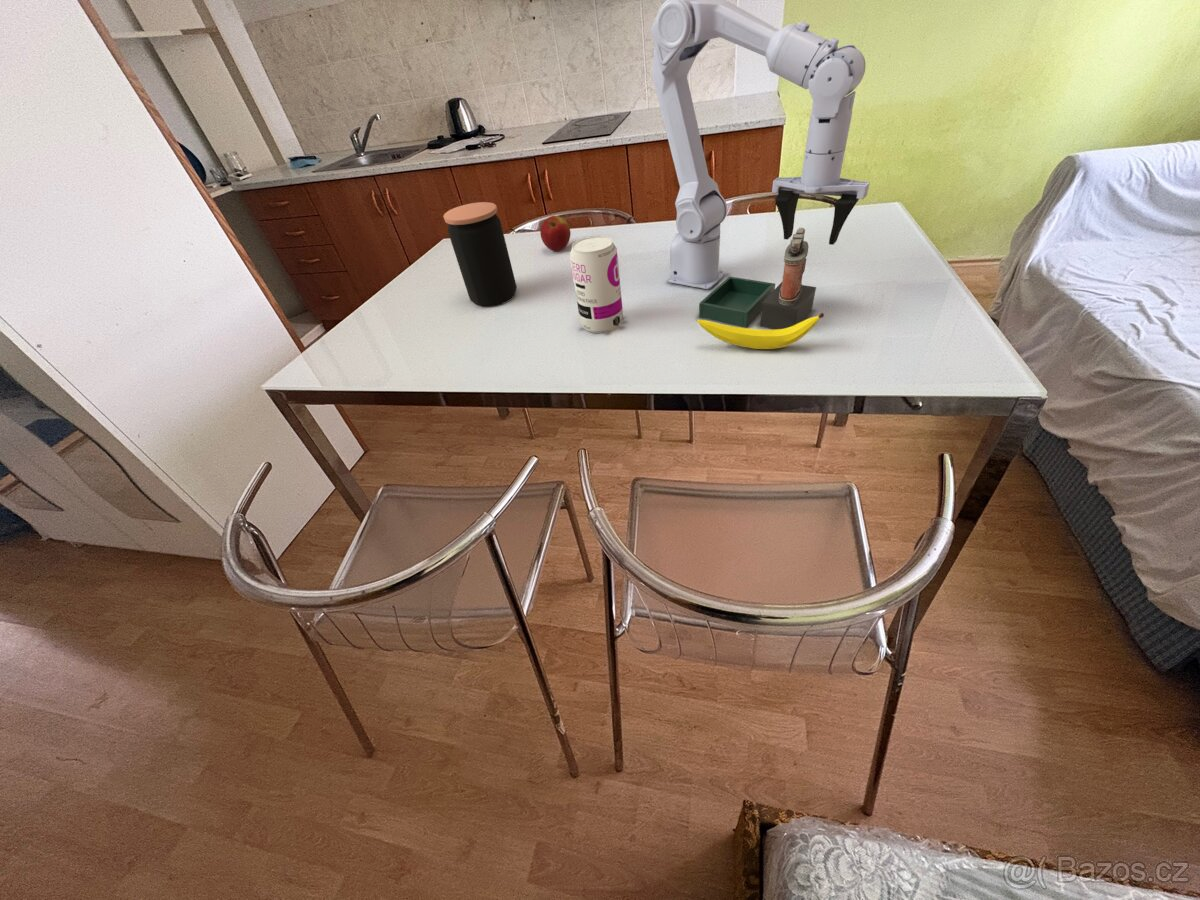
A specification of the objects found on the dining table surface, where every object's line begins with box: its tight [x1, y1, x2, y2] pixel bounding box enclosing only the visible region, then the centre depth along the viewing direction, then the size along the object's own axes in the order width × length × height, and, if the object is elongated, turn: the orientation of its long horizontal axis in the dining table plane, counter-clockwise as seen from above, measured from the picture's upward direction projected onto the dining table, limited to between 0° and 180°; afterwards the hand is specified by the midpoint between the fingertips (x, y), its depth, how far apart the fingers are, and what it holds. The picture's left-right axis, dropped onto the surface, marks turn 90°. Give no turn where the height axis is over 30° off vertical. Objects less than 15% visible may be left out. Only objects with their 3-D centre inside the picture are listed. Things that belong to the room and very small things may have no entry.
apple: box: [539, 215, 571, 252], centre depth 121 cm, size 8×8×8 cm
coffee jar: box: [442, 201, 518, 308], centre depth 101 cm, size 11×11×18 cm
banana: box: [696, 312, 825, 350], centre depth 77 cm, size 3×19×6 cm, turn 75°
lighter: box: [779, 227, 810, 305], centre depth 79 cm, size 8×3×10 cm, turn 155°
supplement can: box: [569, 235, 624, 334], centre depth 87 cm, size 8×8×15 cm
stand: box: [759, 281, 817, 330], centre depth 84 cm, size 6×8×4 cm
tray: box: [698, 275, 776, 328], centre depth 89 cm, size 9×12×3 cm
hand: (809, 239), depth 83 cm, fingers open, 7 cm apart
